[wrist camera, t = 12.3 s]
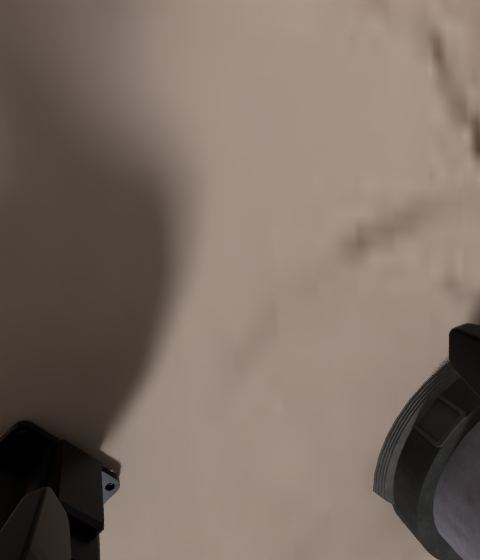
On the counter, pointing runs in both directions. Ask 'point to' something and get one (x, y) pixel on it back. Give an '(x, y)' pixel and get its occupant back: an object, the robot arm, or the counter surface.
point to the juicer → (436, 467)
